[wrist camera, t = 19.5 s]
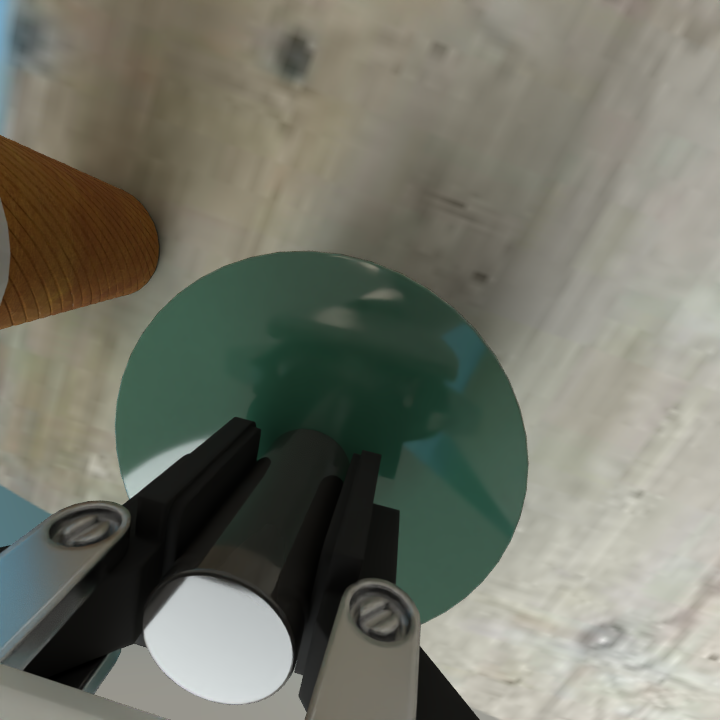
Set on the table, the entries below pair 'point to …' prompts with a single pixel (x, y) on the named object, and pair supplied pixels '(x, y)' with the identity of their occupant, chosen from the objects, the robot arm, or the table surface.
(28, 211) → the disposable coffee cup
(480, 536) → the crock lid
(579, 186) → the table surface
